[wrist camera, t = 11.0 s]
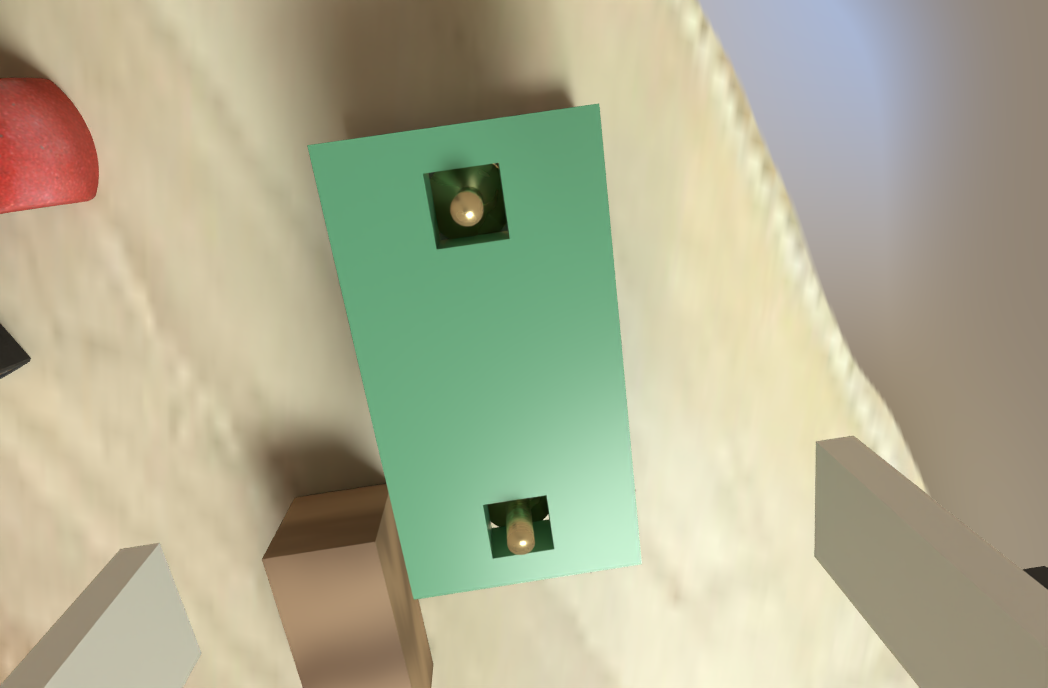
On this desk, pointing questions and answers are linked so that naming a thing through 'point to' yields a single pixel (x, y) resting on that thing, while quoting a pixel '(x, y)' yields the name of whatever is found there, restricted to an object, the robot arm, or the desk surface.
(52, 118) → the colourful wooden toy set
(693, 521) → the desk surface
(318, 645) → the stand
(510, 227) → the board
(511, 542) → the chassis
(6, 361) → the ammunition clip
